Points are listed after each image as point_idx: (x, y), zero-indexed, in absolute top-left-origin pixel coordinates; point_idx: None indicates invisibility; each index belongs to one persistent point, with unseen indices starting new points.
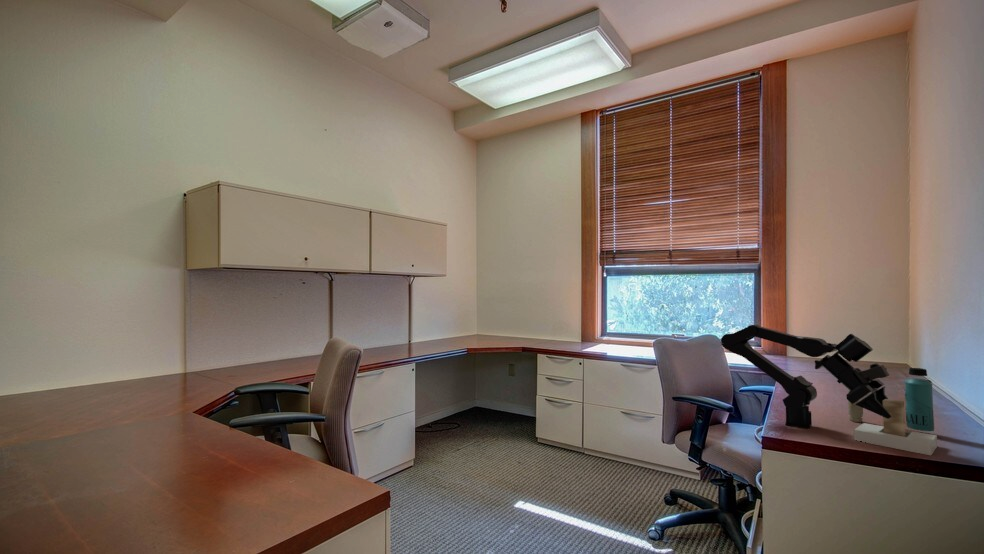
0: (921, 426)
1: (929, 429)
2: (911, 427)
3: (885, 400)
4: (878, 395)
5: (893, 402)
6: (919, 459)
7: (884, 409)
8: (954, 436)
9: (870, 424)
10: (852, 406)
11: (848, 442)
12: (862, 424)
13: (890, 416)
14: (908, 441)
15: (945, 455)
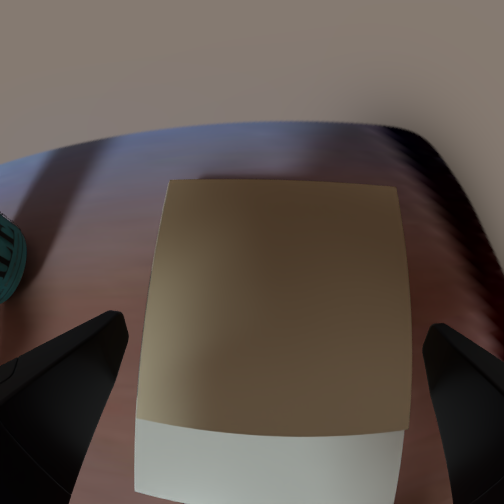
0: (16, 251)
1: (20, 233)
2: (12, 289)
3: (359, 402)
4: (2, 469)
5: (402, 280)
6: (465, 242)
7: (497, 358)
8: (9, 195)
9: (142, 463)
10: None
11: (429, 483)
12: (183, 500)
13: (444, 326)
14: None
15: (324, 180)
